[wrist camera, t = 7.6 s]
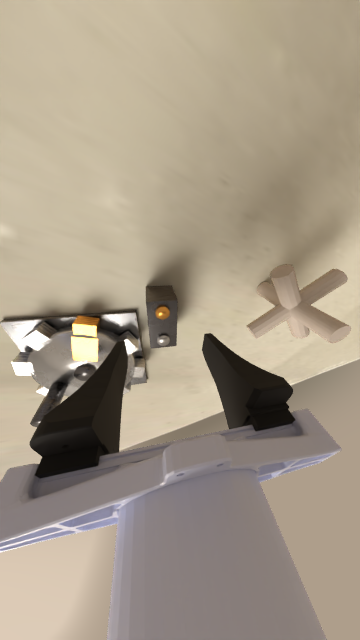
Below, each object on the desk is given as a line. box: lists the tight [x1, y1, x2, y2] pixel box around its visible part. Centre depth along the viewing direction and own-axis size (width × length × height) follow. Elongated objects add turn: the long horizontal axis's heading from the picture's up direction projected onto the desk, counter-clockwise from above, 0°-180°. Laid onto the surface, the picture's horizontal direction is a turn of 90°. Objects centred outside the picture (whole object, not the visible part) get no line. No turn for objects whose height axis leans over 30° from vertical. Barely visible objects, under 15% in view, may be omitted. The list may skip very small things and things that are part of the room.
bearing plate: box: [0, 311, 147, 385], centre depth 21 cm, size 14×14×1 cm
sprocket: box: [11, 316, 145, 427], centre depth 19 cm, size 15×15×6 cm
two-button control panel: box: [146, 286, 177, 348], centre depth 18 cm, size 6×3×4 cm, turn 178°
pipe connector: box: [247, 264, 351, 343], centre depth 17 cm, size 10×10×10 cm
